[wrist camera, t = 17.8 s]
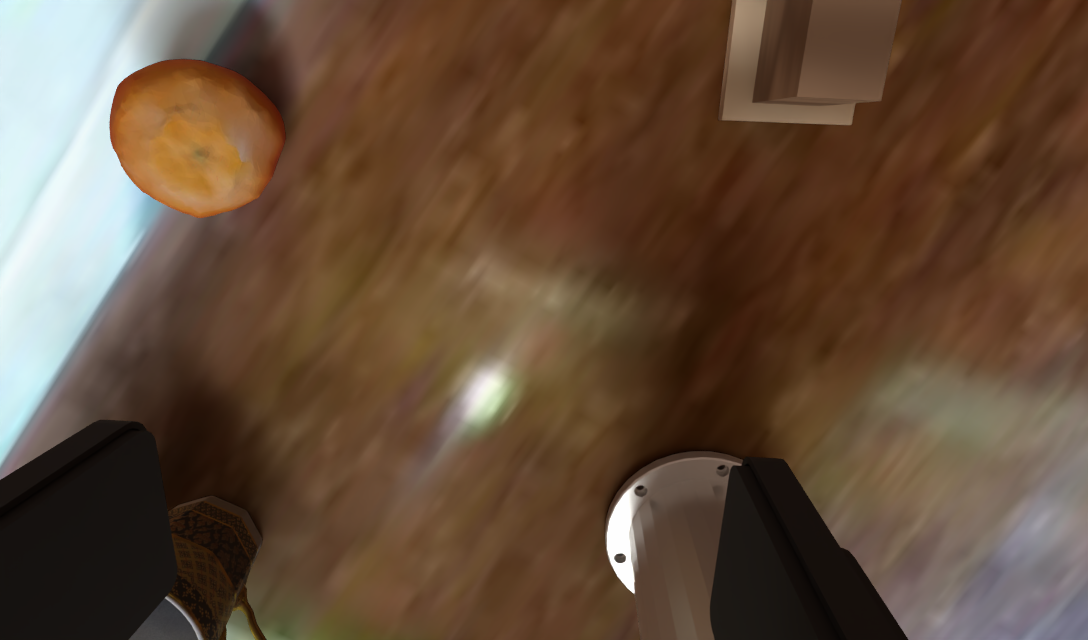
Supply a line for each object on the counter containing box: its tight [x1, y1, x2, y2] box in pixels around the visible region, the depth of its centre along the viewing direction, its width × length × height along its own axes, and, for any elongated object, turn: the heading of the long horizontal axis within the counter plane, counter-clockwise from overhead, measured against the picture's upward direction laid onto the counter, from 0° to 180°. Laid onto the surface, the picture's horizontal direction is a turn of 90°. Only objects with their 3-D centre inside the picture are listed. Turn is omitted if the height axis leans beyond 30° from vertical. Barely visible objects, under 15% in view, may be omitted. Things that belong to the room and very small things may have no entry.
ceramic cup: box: [129, 496, 266, 640], centre depth 40 cm, size 13×10×10 cm
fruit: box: [110, 59, 286, 218], centre depth 33 cm, size 8×8×8 cm
